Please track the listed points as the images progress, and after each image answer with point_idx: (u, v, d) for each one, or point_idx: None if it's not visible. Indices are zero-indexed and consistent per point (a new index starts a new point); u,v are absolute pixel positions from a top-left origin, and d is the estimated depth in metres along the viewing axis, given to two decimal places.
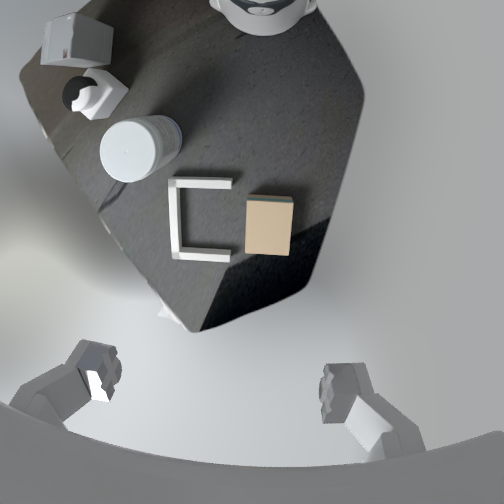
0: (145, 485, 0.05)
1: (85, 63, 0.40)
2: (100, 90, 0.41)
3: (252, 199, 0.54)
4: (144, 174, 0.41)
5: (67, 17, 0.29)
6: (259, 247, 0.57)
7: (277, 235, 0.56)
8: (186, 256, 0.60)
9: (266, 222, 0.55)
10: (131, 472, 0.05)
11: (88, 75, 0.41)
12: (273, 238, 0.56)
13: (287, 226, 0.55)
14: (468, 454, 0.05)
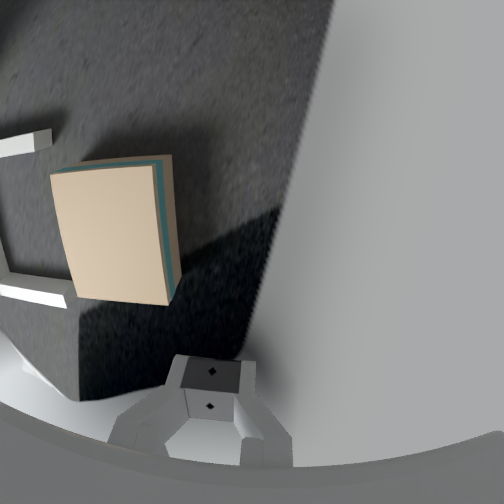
0: (145, 485, 0.05)
1: None
2: None
3: (65, 170, 0.18)
4: None
5: None
6: (100, 285, 0.21)
7: (129, 257, 0.20)
8: (7, 290, 0.25)
9: (97, 225, 0.19)
10: (131, 472, 0.05)
11: None
12: (122, 264, 0.20)
13: (148, 232, 0.19)
14: (468, 454, 0.05)
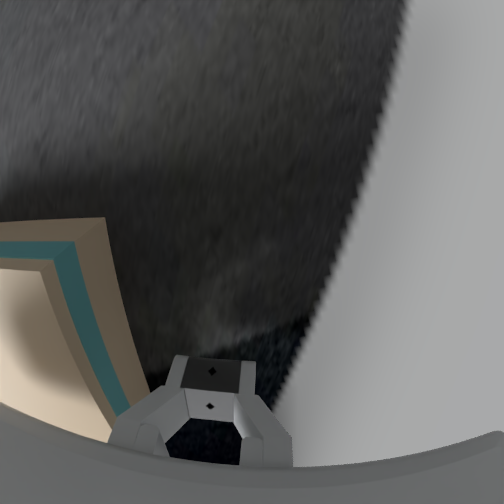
0: (145, 485, 0.05)
1: None
2: None
3: None
4: None
5: None
6: None
7: (55, 401, 0.10)
8: None
9: None
10: (131, 472, 0.05)
11: None
12: (50, 406, 0.10)
13: (69, 379, 0.09)
14: (468, 454, 0.05)
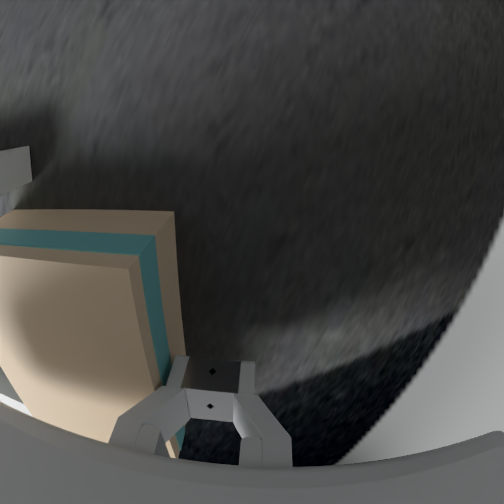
0: (145, 485, 0.05)
1: None
2: None
3: None
4: None
5: None
6: (64, 422, 0.11)
7: (104, 407, 0.10)
8: None
9: (39, 353, 0.09)
10: (131, 472, 0.05)
11: None
12: (94, 412, 0.10)
13: (133, 385, 0.09)
14: (468, 454, 0.05)
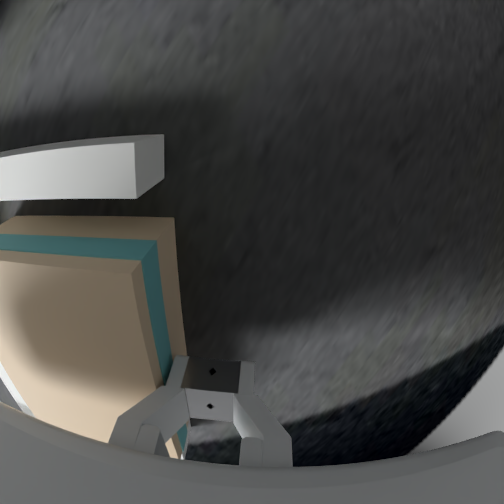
0: (145, 485, 0.05)
1: None
2: None
3: None
4: None
5: None
6: (68, 424, 0.11)
7: (108, 409, 0.10)
8: None
9: (43, 356, 0.09)
10: (131, 472, 0.05)
11: None
12: (98, 414, 0.10)
13: (137, 387, 0.09)
14: (468, 454, 0.05)
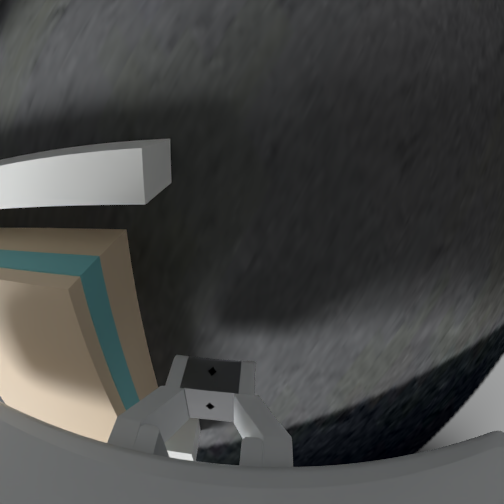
0: (145, 485, 0.05)
1: None
2: None
3: None
4: None
5: None
6: None
7: (71, 410, 0.10)
8: None
9: (13, 360, 0.09)
10: (131, 472, 0.05)
11: None
12: (64, 415, 0.10)
13: (90, 391, 0.09)
14: (468, 454, 0.05)
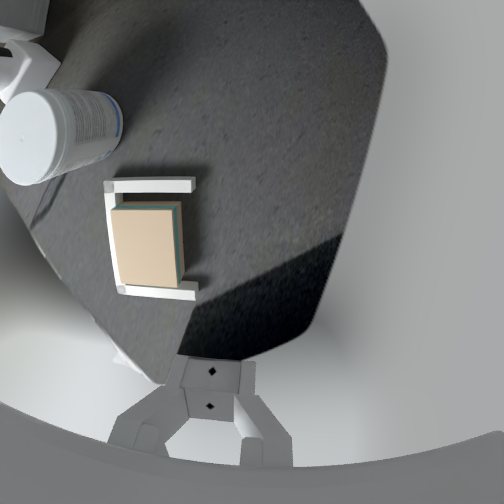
0: (145, 485, 0.05)
1: (7, 34, 0.22)
2: (16, 62, 0.23)
3: (119, 208, 0.35)
4: (44, 171, 0.22)
5: None
6: (136, 276, 0.38)
7: (156, 259, 0.37)
8: (135, 290, 0.41)
9: (139, 240, 0.36)
10: (131, 472, 0.05)
11: (7, 47, 0.23)
12: (152, 263, 0.37)
13: (168, 245, 0.36)
14: (468, 454, 0.05)
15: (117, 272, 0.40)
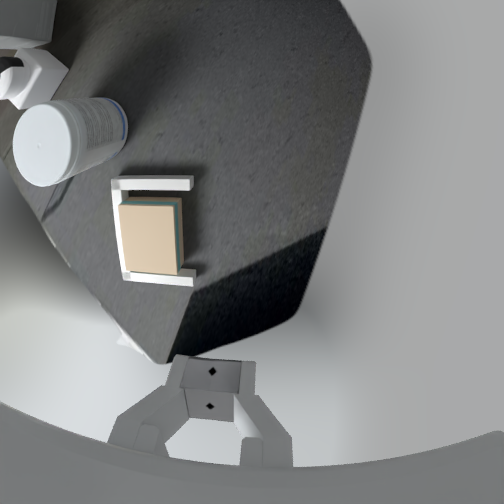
0: (145, 485, 0.05)
1: (17, 42, 0.26)
2: (27, 71, 0.27)
3: (125, 203, 0.39)
4: (60, 175, 0.27)
5: None
6: (140, 264, 0.43)
7: (159, 249, 0.41)
8: (139, 277, 0.46)
9: (143, 232, 0.40)
10: (131, 472, 0.05)
11: (18, 56, 0.26)
12: (155, 253, 0.42)
13: (169, 237, 0.41)
14: (468, 454, 0.05)
15: (123, 261, 0.44)
